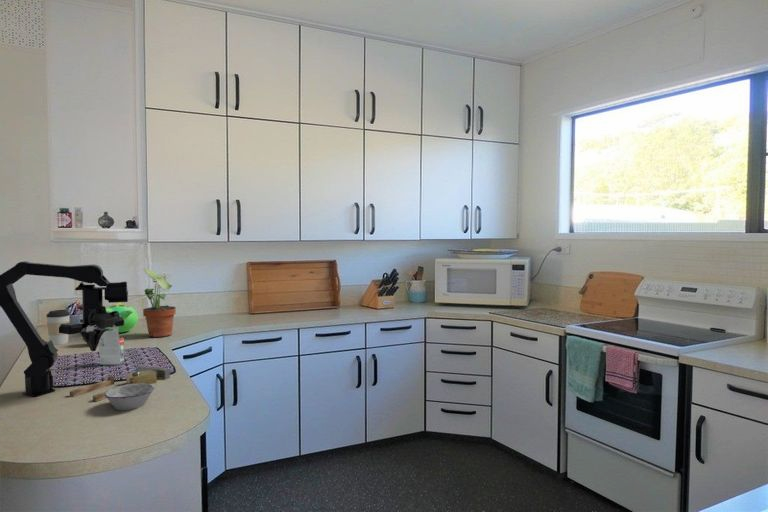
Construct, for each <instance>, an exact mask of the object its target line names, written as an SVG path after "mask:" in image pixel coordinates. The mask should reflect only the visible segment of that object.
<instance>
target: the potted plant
mask: <svg viewBox="0 0 768 512" xmlns="http://www.w3.org/2000/svg"><path fill="white" fill-rule="evenodd" d="M142 270H143V272H144V273H146V274H147V276H148V277H150V279H151V280H152V282H153V283H157V284H158V286H157V284H155V286H154V288H145V289H144V295H146V297H147V298H148V300H149V301H150V304H151V307H147V308H144V309H142V311H143V313H142V314H143V317H145V322H146V327H147V331H148V332H147V333H148V336H149V337H150V338H160V337H168V336H171V335H172V334H173V325H174V317H175V316H174V315H176V306H174V305H173V306H170V305H168V304H167V305H161V300H165V298H166V293H160V292H161V288H162V289H164V290H170V289H171V288H172V287H173V285H172V284H169V282H168V281H167V278H166V275H164V276H162V275H160V274H158V273H157V272H155V271H154V270H151V269H149V268H143V269H142Z"/></svg>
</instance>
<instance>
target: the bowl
mask: <svg viewBox="0 0 768 512" xmlns="http://www.w3.org/2000/svg"><path fill="white" fill-rule="evenodd" d="M154 390H155V386H154V385H152V384H143V383H137V384H127V383H126V384H123V385H119V386H114V387H112V388H110V389H107V390H106V391H104V392H105V396H106V397H107V398H106V399H107V400H108V401H109V402H110V404H111V405H112V406H113V407H114V409H115V410H119V411H127V410H128V411H130V410H136V409H139V408H141V407H143V406H144V405H146V403H147V401H148V400H149V398H150V396H151V394H152V393H153V391H154Z"/></svg>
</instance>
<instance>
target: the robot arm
mask: <svg viewBox="0 0 768 512" xmlns="http://www.w3.org/2000/svg"><path fill="white" fill-rule="evenodd" d="M26 275H29V276H41V277H55V278H64V279H65V278H66V279H71V280H74V281H77V282H78V281H79V282H80V283H79V285H77V287H75V288H74V290H75V291H82V294H81V295H82V297H81V299H82V300H81V301H82V303H81V304H82V305H81V306H79V311H82V318H80V319H79V323H77V322H71V321H70V322H69V323H64V324H61V325H60V327H59V333H63V334H69V335H76V334H80V335H81V336H83V337H82V339H83V338H84V339H85V341H86V342H87V343H86V342H85V341H84V342H85V343H86V344H87V347H88V348H89V350H90V351H91V352H96V350H97V347H98V346H99V340H100V338H101V336H102V334H103V333H104V332H105V331H108V329H106V328H108V327H113V326H114V325H115V326H123V325H124V319H123V318H122V317H120V315H119V312H118V311H113V312H109V313H107V312H106V306H104V302H103V301H107V302H108V303H109V304H110V303H111V304H112V303H114V304H117V303H120V302H121V303H129V302H128V301H129V290H128V282H127V281H119V282H118V281H117V282H116V281H115V282H111V281H109V279H107V277H106V276H105V275H104V271H103V269H102V267H101V266H100V265H98V264H80V265H61V264H49V263H39V262H29V261H26V260H25V261H20V262H17V263H16V264H15V265H14V266H13V267H10V268H9V269H8V270H5V271H4V272H2V273H1V274H0V308H2V311H3V312H4V314H5V316H6V317H7V318H8V320H9V321H10V323H11V324H12V326H13V327H14V329H15V330H16V332H17V333H18V335H19V336H20V338H21V340H22V341H23V342H24V344H25V345H26V349H27V353H28V357H29V360H30V362H31V363H30V364H29V365H28V366H27V367H26V369H25V370H24V371H23V374H24V385H25V391H23V392H22V395H25V396H30V397H38V396H42V395H46V394H48V393H52V392H56V389H55V388H54V375H52V370H50V369H51V368H52V366H54V364H55V363H56V362H57V360H58V357H59V354H58V352H59V349H58V348H56V347H55V345H53V342H52V340H50V339H49V341H46V340H44V339H43V338H42V337H41V335H40V334H39V332H38V330H37V328H35V327H36V326H34V325H33V323H32V321H31V320H30V318H29V317H28V315H27V314H26V312H25V310H24V309H23V307H22V306H21V305H20V303H19V301H18V299H17V294H16V291H15V288H14V284H15V283H16V282H18V281H19V280H20V279H22V278H23V277H25V276H26ZM103 291H104V293H103ZM103 294H104V296H103ZM103 297H104V298H103ZM103 299H104V300H103Z"/></svg>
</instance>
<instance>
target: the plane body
mask: <svg viewBox="0 0 768 512" xmlns="http://www.w3.org/2000/svg"><path fill="white" fill-rule="evenodd" d="M130 384H137V380H131V381H130ZM112 385H115V376H114V375H109V376H107V379H106V380H104V381H99V382H95V383H93V384H90V385H85V386H83V387H79V388H77V389H76V388H75V389H72V390H70V391H69V397H76V396H80V395H83V394H86V393H90V392H92V391H93V392H94V391H95V390H96V391H97V390H99V389H102V388H105V387H109V386H112ZM105 392H106V391H104V392H100V393H97V394H94V395H92V401H93V402H99V401H102V400H105V399H107V397H106V396H105Z"/></svg>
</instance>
